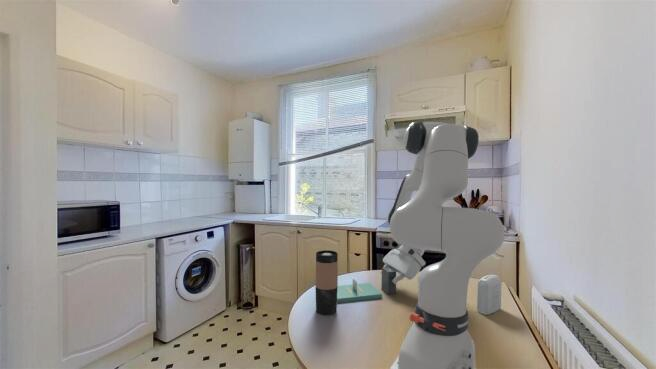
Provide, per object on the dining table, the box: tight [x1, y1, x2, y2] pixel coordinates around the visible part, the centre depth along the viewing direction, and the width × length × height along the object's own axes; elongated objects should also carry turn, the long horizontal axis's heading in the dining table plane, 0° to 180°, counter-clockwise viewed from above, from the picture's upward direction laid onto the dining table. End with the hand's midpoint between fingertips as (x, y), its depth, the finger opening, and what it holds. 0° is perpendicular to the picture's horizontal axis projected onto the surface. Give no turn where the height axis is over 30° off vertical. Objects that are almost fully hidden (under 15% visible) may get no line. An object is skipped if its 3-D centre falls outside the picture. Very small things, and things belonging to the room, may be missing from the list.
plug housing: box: [381, 266, 397, 296], centre depth 115 cm, size 6×3×9 cm, turn 15°
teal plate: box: [337, 278, 383, 304], centre depth 112 cm, size 12×18×6 cm, turn 105°
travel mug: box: [315, 249, 339, 316], centre depth 98 cm, size 8×8×20 cm
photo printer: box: [476, 274, 503, 316], centre depth 99 cm, size 10×4×12 cm, turn 123°
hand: (387, 278), depth 115 cm, fingers open, 8 cm apart
